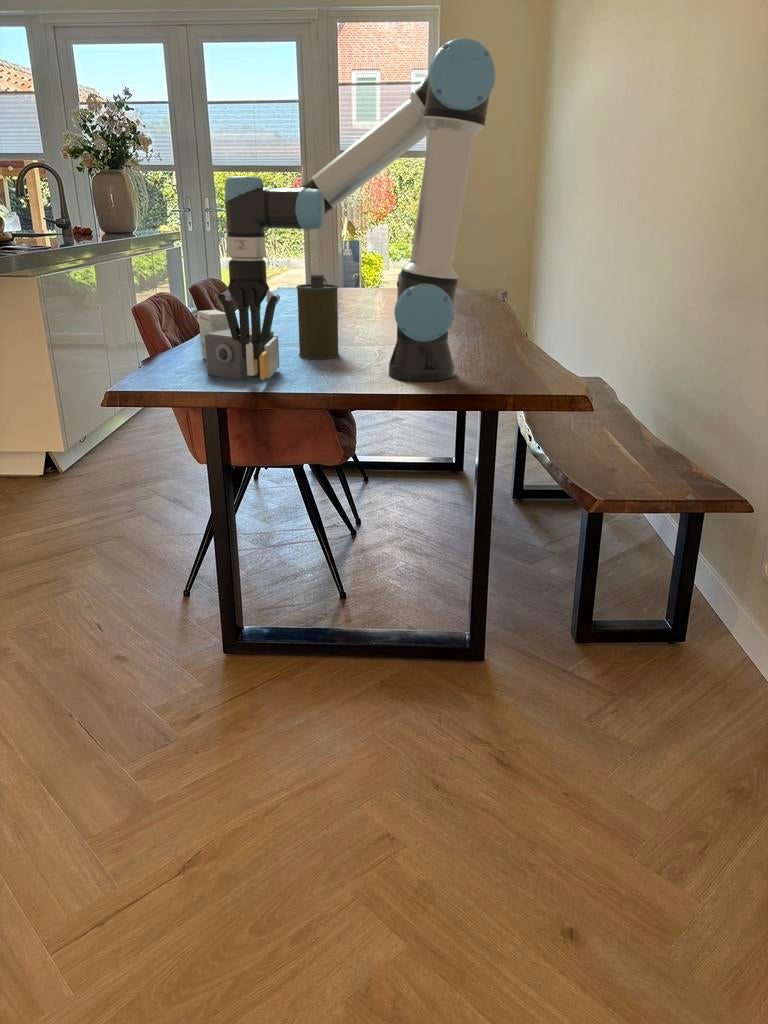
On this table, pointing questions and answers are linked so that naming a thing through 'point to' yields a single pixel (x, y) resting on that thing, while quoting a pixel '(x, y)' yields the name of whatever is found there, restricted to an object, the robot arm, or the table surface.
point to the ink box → (211, 325)
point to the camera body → (228, 355)
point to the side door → (269, 359)
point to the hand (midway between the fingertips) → (252, 374)
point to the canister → (318, 319)
